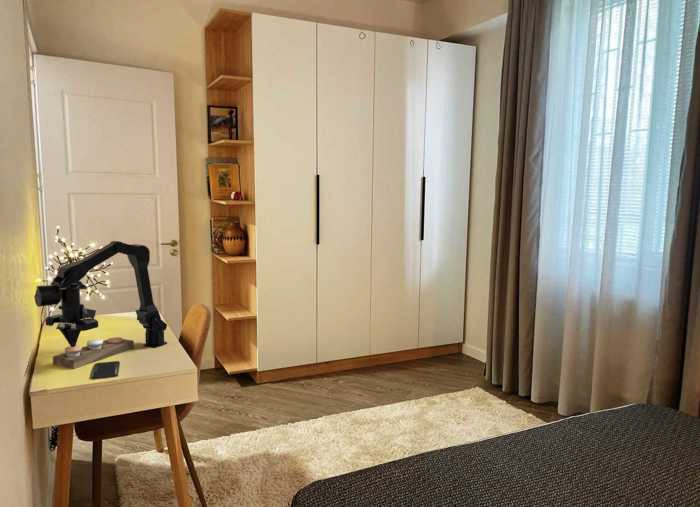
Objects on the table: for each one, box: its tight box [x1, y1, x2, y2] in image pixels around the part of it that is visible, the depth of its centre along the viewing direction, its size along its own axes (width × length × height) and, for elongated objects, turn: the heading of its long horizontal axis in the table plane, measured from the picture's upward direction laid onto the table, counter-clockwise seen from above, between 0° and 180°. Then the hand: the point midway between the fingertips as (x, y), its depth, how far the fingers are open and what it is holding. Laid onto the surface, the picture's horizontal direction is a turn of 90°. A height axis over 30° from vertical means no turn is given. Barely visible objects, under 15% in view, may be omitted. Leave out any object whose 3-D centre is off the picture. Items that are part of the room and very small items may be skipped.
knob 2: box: [106, 336, 124, 344], centre depth 197 cm, size 5×5×4 cm
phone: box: [91, 360, 120, 380], centre depth 174 cm, size 8×1×15 cm
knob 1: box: [64, 345, 83, 358], centre depth 180 cm, size 5×5×4 cm
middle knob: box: [86, 338, 104, 351], centre depth 189 cm, size 5×5×4 cm
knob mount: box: [52, 338, 135, 370], centre depth 189 cm, size 10×26×3 cm, turn 157°
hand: (73, 346), depth 180 cm, fingers closed
